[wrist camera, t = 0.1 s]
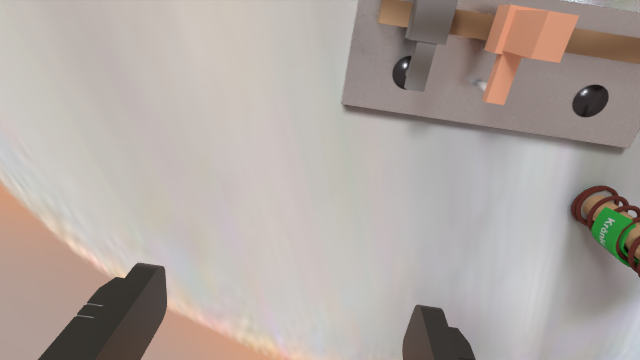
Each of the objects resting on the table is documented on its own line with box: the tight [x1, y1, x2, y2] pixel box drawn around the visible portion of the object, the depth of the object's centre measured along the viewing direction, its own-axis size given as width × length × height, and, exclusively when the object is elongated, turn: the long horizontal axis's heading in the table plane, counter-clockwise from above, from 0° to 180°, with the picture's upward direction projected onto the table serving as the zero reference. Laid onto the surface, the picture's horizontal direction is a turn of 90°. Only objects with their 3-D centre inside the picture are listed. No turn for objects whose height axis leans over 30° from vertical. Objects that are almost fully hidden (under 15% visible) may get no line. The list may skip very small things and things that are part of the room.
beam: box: [377, 0, 640, 92], centre depth 32 cm, size 8×26×4 cm, turn 82°
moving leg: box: [477, 5, 579, 105], centre depth 29 cm, size 8×3×9 cm, turn 172°
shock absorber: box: [572, 186, 640, 277], centre depth 34 cm, size 6×6×15 cm
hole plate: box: [341, 0, 640, 148], centre depth 35 cm, size 12×30×1 cm, turn 82°
